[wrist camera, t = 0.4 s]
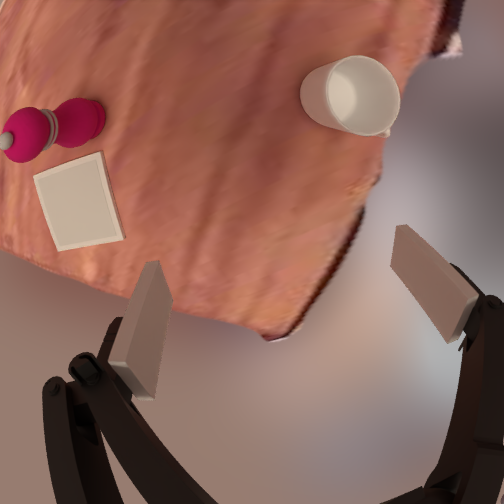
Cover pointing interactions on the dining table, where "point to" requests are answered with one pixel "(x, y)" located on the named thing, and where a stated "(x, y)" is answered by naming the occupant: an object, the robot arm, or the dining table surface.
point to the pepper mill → (51, 128)
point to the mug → (352, 96)
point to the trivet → (79, 203)
